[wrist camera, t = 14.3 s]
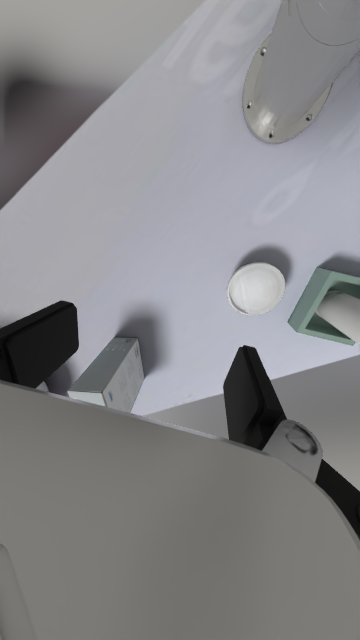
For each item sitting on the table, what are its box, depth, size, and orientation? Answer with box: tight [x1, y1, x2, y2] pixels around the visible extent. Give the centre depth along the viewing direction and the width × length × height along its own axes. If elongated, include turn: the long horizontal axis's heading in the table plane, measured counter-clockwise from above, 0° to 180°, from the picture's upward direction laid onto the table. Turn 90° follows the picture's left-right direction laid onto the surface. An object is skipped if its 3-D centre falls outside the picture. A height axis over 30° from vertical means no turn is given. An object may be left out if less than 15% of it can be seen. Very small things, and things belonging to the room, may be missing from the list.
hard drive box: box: [67, 338, 144, 413], centre depth 47 cm, size 16×8×20 cm, turn 3°
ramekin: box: [227, 262, 286, 315], centre depth 39 cm, size 11×11×5 cm
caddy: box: [288, 267, 360, 346], centre depth 39 cm, size 13×12×5 cm
